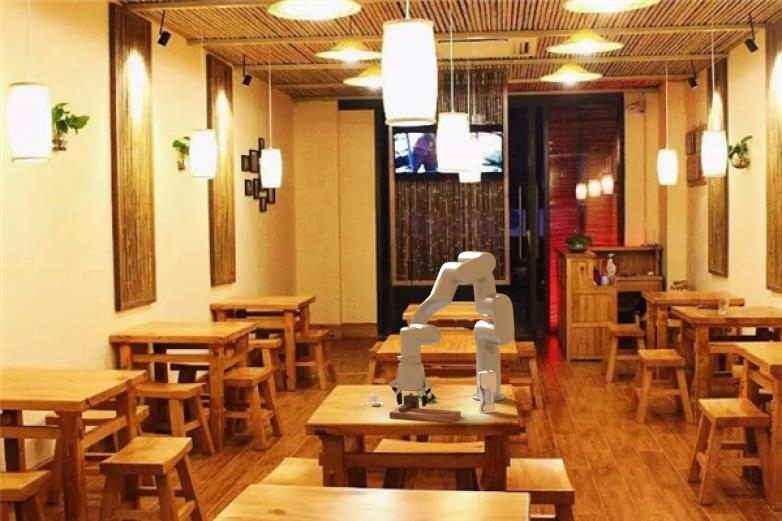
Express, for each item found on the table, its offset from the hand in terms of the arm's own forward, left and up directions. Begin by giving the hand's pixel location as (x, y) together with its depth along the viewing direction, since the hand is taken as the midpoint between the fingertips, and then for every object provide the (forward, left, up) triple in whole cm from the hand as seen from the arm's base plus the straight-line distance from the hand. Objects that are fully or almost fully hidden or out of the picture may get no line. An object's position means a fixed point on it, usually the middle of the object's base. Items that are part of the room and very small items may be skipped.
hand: (412, 405), depth 365 cm
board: (+8, +8, -3) cm, 11 cm away
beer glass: (-8, +27, -3) cm, 28 cm away
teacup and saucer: (-6, -21, -3) cm, 22 cm away
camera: (+5, 0, -3) cm, 6 cm away
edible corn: (-23, -3, -3) cm, 24 cm away
